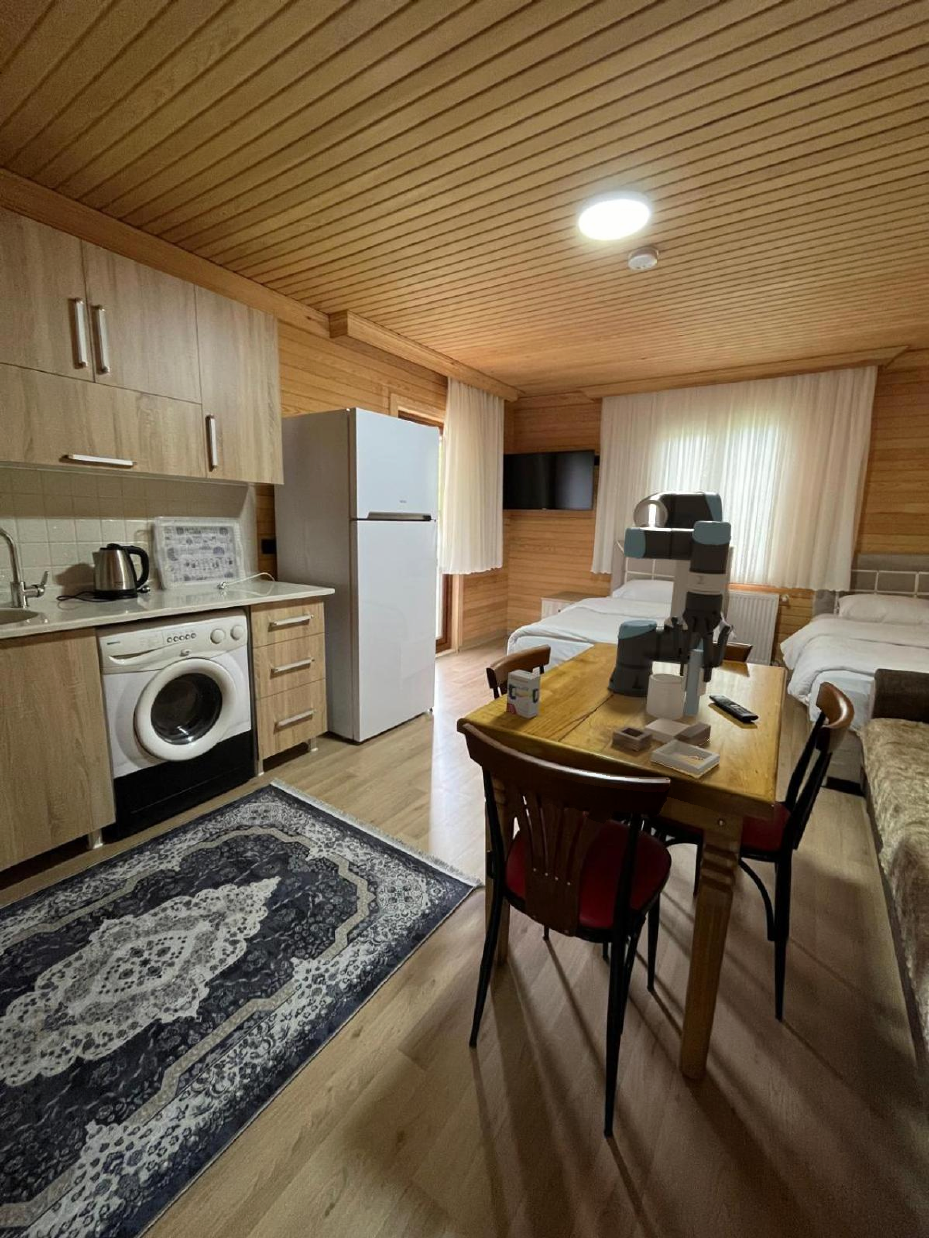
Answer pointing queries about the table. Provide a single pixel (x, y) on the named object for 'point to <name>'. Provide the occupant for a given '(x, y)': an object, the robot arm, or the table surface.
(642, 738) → the socket block
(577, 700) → the table surface
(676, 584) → the robot arm
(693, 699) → the dowel
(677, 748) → the tray
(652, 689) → the mug
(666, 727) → the white flat block
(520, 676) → the ink box
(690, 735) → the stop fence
